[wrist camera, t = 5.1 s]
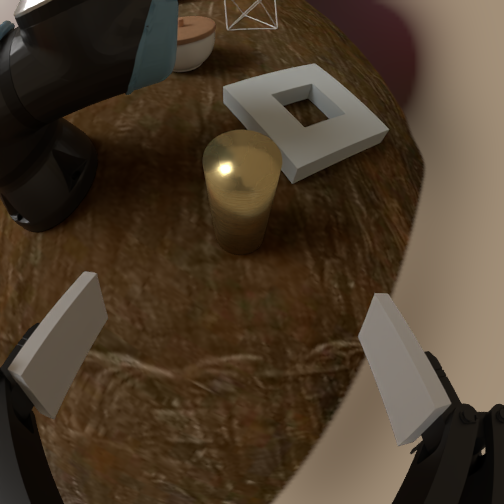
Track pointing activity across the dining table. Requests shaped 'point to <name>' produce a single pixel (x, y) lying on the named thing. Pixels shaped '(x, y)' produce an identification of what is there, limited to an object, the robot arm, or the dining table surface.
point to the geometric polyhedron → (251, 17)
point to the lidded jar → (193, 42)
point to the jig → (292, 131)
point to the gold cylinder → (241, 187)
